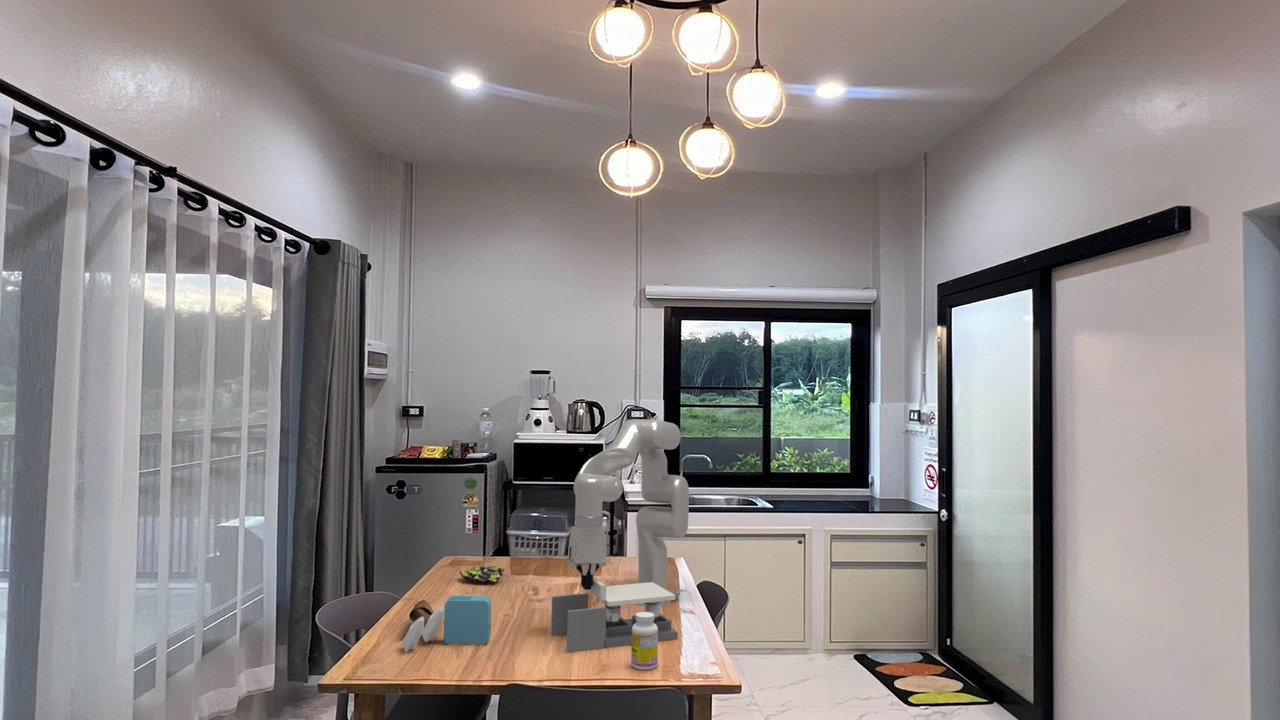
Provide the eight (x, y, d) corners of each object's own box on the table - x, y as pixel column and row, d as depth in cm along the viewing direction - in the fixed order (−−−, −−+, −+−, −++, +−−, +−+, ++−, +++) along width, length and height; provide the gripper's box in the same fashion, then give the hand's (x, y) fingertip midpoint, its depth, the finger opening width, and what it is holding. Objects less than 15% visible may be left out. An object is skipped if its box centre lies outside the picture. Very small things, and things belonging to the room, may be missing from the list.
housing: (654, 623, 223) (654, 586, 223) (677, 639, 208) (678, 600, 209) (551, 634, 210) (551, 596, 211) (568, 652, 196) (568, 611, 196)
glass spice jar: (616, 626, 212) (617, 600, 212) (622, 631, 208) (622, 604, 208) (602, 628, 210) (602, 601, 211) (607, 633, 206) (608, 605, 207)
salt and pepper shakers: (428, 629, 206) (447, 599, 204) (437, 640, 205) (456, 610, 202) (396, 641, 195) (416, 610, 193) (406, 653, 194) (426, 621, 192)
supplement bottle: (630, 661, 190) (630, 610, 191) (656, 661, 190) (656, 610, 191) (632, 671, 183) (632, 618, 184) (658, 670, 184) (659, 618, 184)
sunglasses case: (434, 632, 204) (435, 607, 205) (408, 633, 203) (409, 608, 204) (437, 621, 221) (438, 598, 223) (413, 622, 220) (414, 599, 221)
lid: (652, 586, 223) (652, 568, 223) (675, 599, 208) (675, 580, 209) (583, 592, 215) (584, 574, 215) (602, 607, 200) (603, 587, 200)
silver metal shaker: (641, 624, 215) (642, 597, 215) (655, 622, 217) (656, 596, 217) (647, 628, 211) (648, 601, 211) (661, 627, 213) (662, 600, 213)
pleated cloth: (476, 572, 288) (481, 556, 289) (513, 586, 283) (519, 568, 284) (452, 575, 269) (458, 557, 270) (492, 589, 264) (497, 571, 265)
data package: (490, 639, 205) (491, 595, 206) (488, 645, 201) (489, 600, 202) (446, 639, 205) (447, 595, 206) (443, 645, 200) (444, 600, 201)
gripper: (609, 519, 214) (607, 583, 213) (558, 521, 209) (557, 587, 207) (618, 523, 207) (616, 590, 206) (566, 525, 202) (564, 593, 201)
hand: (586, 588), depth 207 cm, fingers closed
